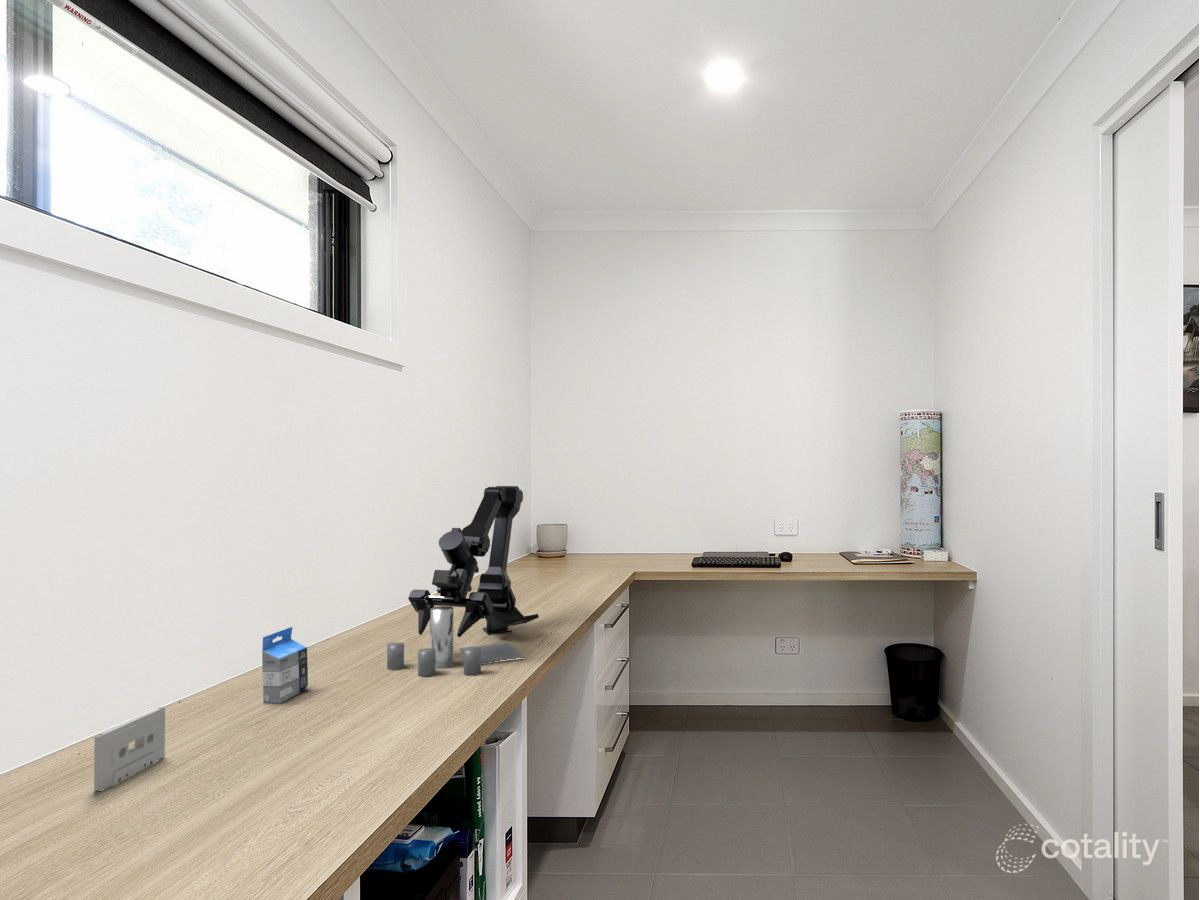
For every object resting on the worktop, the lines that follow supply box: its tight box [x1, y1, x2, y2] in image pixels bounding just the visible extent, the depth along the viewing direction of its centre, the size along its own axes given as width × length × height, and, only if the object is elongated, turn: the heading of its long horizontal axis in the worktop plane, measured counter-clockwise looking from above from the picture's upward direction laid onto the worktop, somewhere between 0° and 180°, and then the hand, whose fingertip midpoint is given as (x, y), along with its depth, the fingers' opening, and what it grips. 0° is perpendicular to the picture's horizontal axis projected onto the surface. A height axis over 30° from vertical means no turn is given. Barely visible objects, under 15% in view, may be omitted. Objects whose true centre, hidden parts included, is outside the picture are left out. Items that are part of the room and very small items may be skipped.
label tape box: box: [261, 626, 309, 704], centre depth 139 cm, size 9×4×12 cm, turn 168°
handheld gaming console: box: [484, 606, 540, 630], centre depth 186 cm, size 11×10×4 cm
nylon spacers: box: [386, 642, 482, 678], centre depth 154 cm, size 7×22×5 cm, turn 77°
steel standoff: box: [429, 606, 454, 670], centre depth 160 cm, size 5×5×12 cm
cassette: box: [93, 707, 166, 792], centre depth 104 cm, size 12×2×8 cm, turn 171°
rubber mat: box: [459, 642, 526, 665], centre depth 168 cm, size 14×12×1 cm
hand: (438, 634), depth 159 cm, fingers open, 9 cm apart
